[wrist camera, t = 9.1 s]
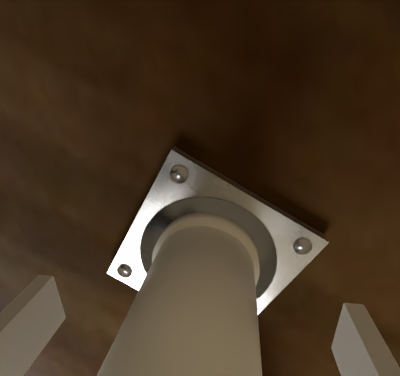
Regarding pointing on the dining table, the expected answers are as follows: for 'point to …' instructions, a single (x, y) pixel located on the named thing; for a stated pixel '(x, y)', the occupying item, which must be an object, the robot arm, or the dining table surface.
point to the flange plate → (223, 205)
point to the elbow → (193, 305)
